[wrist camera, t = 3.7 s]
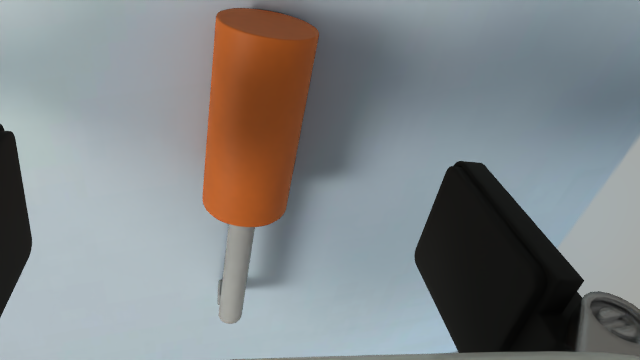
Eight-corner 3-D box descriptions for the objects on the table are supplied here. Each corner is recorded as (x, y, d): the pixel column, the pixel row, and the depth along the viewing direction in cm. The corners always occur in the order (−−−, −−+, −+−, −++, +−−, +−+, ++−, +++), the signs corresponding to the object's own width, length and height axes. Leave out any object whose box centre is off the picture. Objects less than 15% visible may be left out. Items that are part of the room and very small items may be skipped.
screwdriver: (311, 17, 14) (327, 46, 12) (262, 290, 20) (267, 344, 18) (217, 2, 14) (214, 30, 11) (195, 289, 20) (191, 345, 17)
